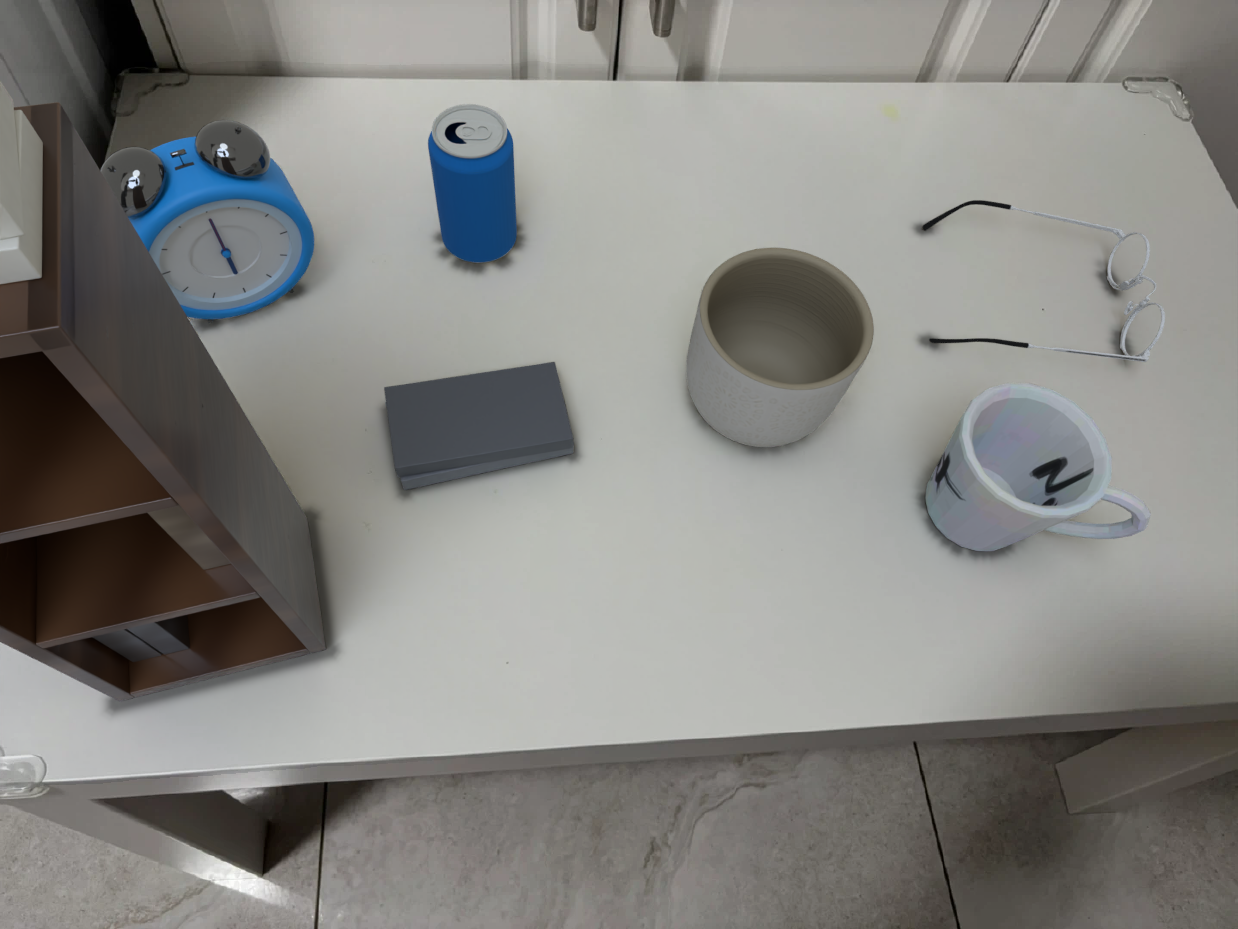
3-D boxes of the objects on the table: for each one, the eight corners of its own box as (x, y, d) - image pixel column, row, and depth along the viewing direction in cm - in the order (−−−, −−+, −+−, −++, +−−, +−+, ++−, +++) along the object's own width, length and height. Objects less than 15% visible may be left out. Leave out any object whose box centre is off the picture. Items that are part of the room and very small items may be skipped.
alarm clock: (174, 345, 68) (85, 207, 54) (150, 289, 70) (59, 144, 57) (333, 286, 71) (285, 144, 58) (305, 235, 74) (254, 87, 60)
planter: (840, 360, 72) (887, 275, 62) (811, 485, 66) (857, 413, 57) (699, 317, 73) (723, 227, 63) (658, 437, 67) (678, 357, 58)
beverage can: (442, 212, 76) (426, 99, 66) (515, 211, 77) (511, 99, 66) (442, 269, 73) (425, 160, 63) (518, 268, 74) (514, 160, 63)
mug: (926, 428, 70) (982, 358, 61) (1105, 505, 68) (1189, 444, 59) (889, 533, 65) (944, 474, 56) (1080, 620, 63) (1168, 572, 54)
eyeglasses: (1142, 388, 73) (1180, 354, 69) (928, 356, 73) (952, 320, 69) (1114, 247, 81) (1147, 208, 76) (920, 217, 81) (941, 177, 76)
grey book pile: (402, 495, 63) (396, 476, 61) (385, 408, 66) (378, 387, 64) (576, 456, 66) (578, 437, 63) (552, 375, 69) (552, 354, 66)
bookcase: (119, 701, 55) (-461, 414, 23) (114, 560, 59) (-381, 153, 27) (326, 650, 58) (60, 326, 26) (307, 518, 62) (59, 100, 30)
